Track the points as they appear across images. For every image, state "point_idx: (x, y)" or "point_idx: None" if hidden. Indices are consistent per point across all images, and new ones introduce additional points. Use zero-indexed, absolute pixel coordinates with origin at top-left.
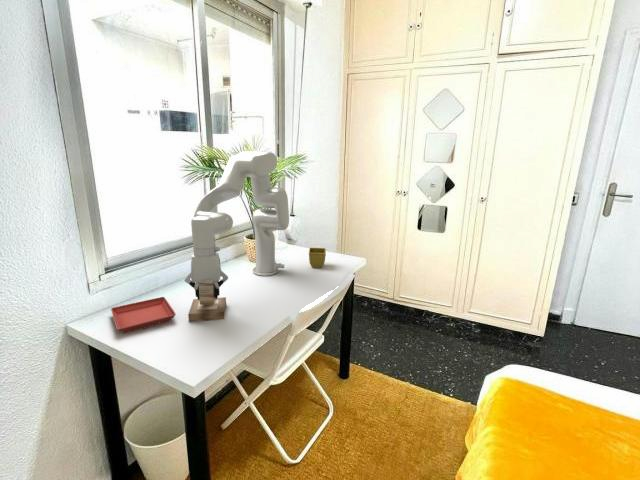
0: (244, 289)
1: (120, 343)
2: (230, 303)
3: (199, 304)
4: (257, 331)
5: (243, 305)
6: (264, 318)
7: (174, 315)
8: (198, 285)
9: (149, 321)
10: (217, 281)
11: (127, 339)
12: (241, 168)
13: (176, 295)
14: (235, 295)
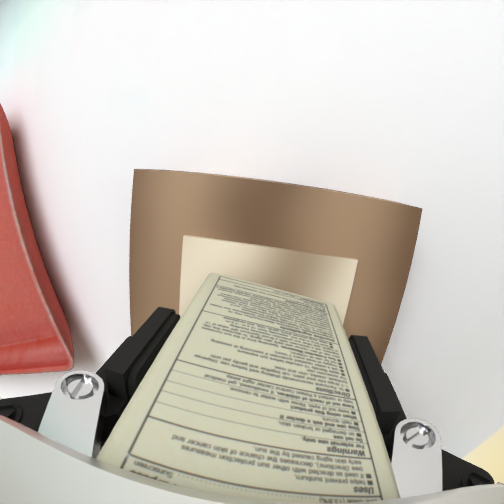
0: (495, 27)
1: (7, 396)
2: (425, 197)
3: (188, 301)
4: None
5: (484, 256)
6: (493, 404)
7: (72, 365)
8: (106, 418)
9: (10, 373)
10: (417, 489)
11: (9, 386)
12: None
13: (75, 8)
14: (458, 79)
